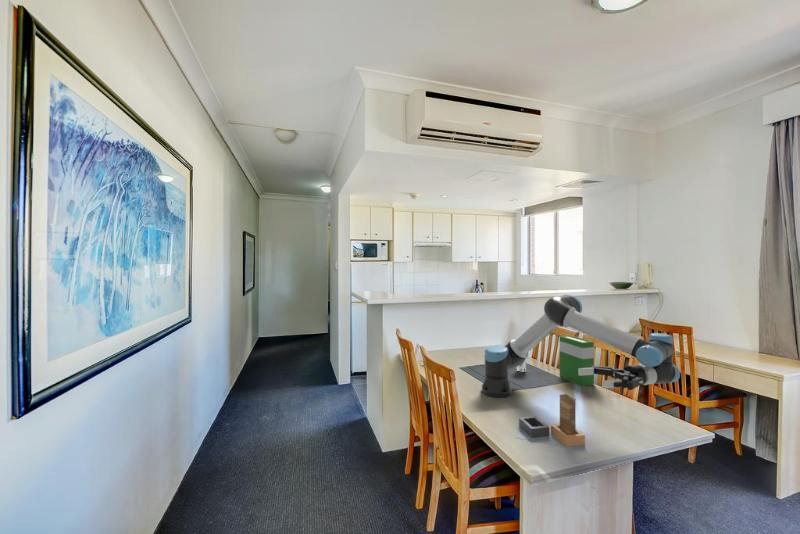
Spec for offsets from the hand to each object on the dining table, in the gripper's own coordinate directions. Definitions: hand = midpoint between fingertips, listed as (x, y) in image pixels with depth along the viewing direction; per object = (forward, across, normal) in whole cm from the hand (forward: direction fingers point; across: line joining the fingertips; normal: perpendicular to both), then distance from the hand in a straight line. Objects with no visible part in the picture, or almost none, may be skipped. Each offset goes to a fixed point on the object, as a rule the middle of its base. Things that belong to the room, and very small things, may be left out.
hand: (591, 377), depth 128 cm
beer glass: (-16, +79, -25) cm, 84 cm away
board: (+14, +4, -24) cm, 28 cm away
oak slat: (+10, 0, -23) cm, 25 cm away
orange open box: (+10, 0, -23) cm, 25 cm away
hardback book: (-38, +58, -25) cm, 74 cm away
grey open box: (+19, +8, -23) cm, 31 cm away
